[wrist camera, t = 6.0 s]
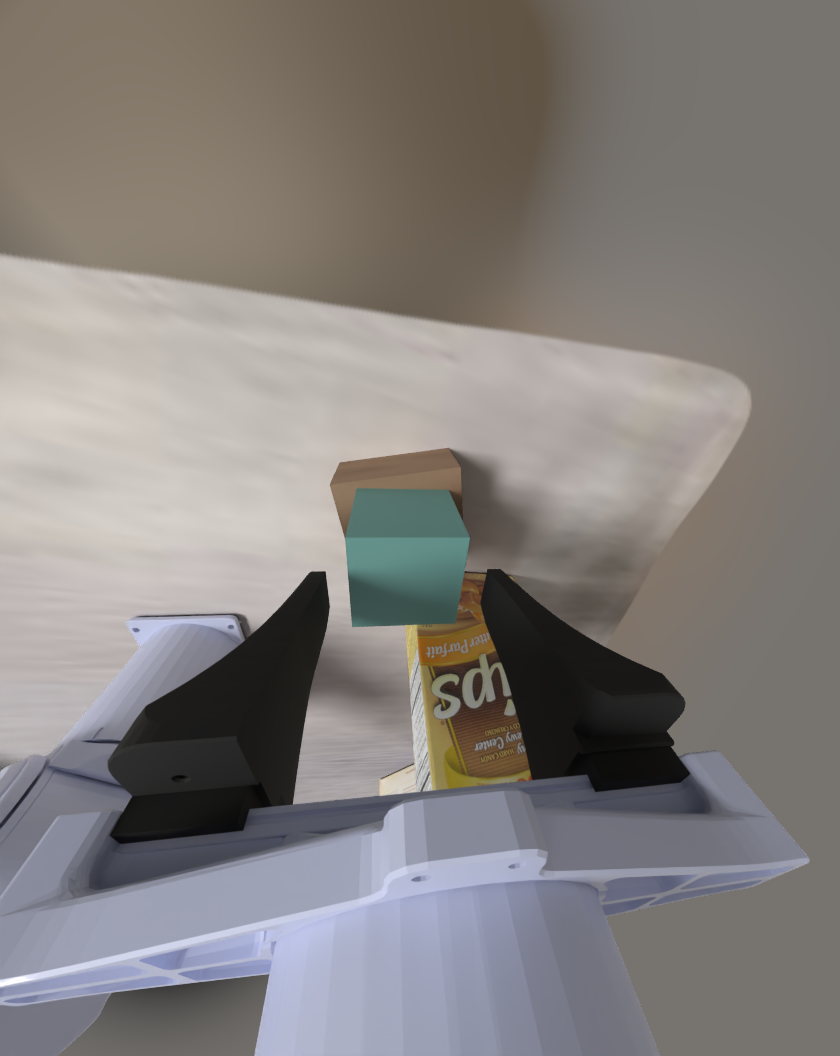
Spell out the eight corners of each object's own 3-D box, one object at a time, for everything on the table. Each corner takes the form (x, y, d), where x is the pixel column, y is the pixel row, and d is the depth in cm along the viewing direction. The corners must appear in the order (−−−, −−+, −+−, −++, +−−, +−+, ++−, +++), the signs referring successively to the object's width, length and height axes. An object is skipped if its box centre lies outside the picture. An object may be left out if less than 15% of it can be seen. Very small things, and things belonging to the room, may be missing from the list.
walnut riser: (452, 537, 23) (464, 569, 19) (362, 549, 23) (358, 584, 19) (447, 446, 19) (460, 466, 16) (340, 461, 19) (329, 484, 16)
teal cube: (440, 562, 19) (455, 623, 15) (360, 563, 18) (352, 626, 14) (448, 489, 16) (470, 537, 12) (356, 488, 16) (345, 537, 12)
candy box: (513, 573, 25) (654, 818, 12) (498, 609, 27) (605, 853, 14) (409, 566, 24) (437, 836, 10) (402, 605, 26) (419, 872, 12)
